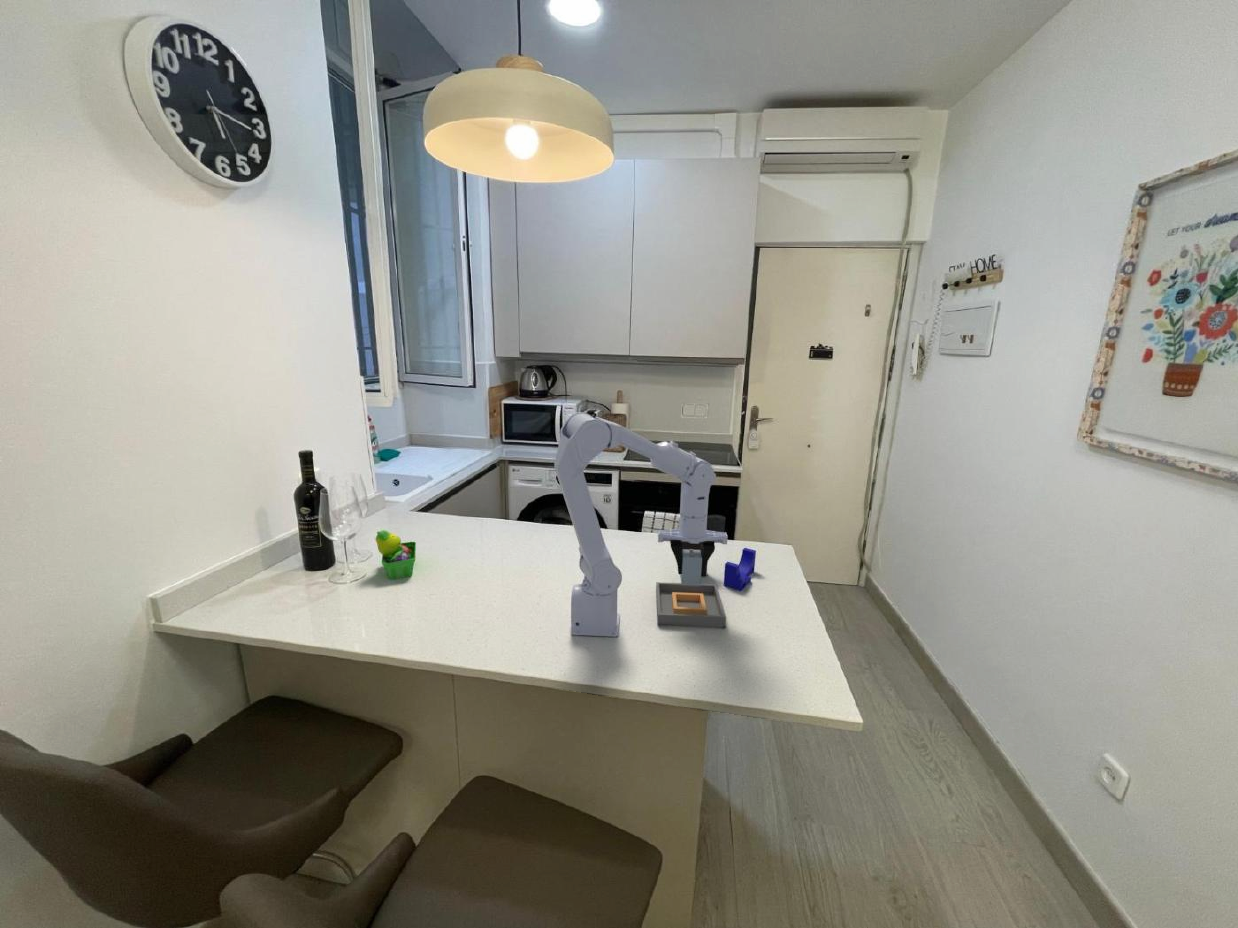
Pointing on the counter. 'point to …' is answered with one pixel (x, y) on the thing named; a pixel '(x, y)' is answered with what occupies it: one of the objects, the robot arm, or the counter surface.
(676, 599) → the box
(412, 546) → the fruit basket
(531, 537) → the counter surface
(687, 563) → the connector plug
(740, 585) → the cable clip
